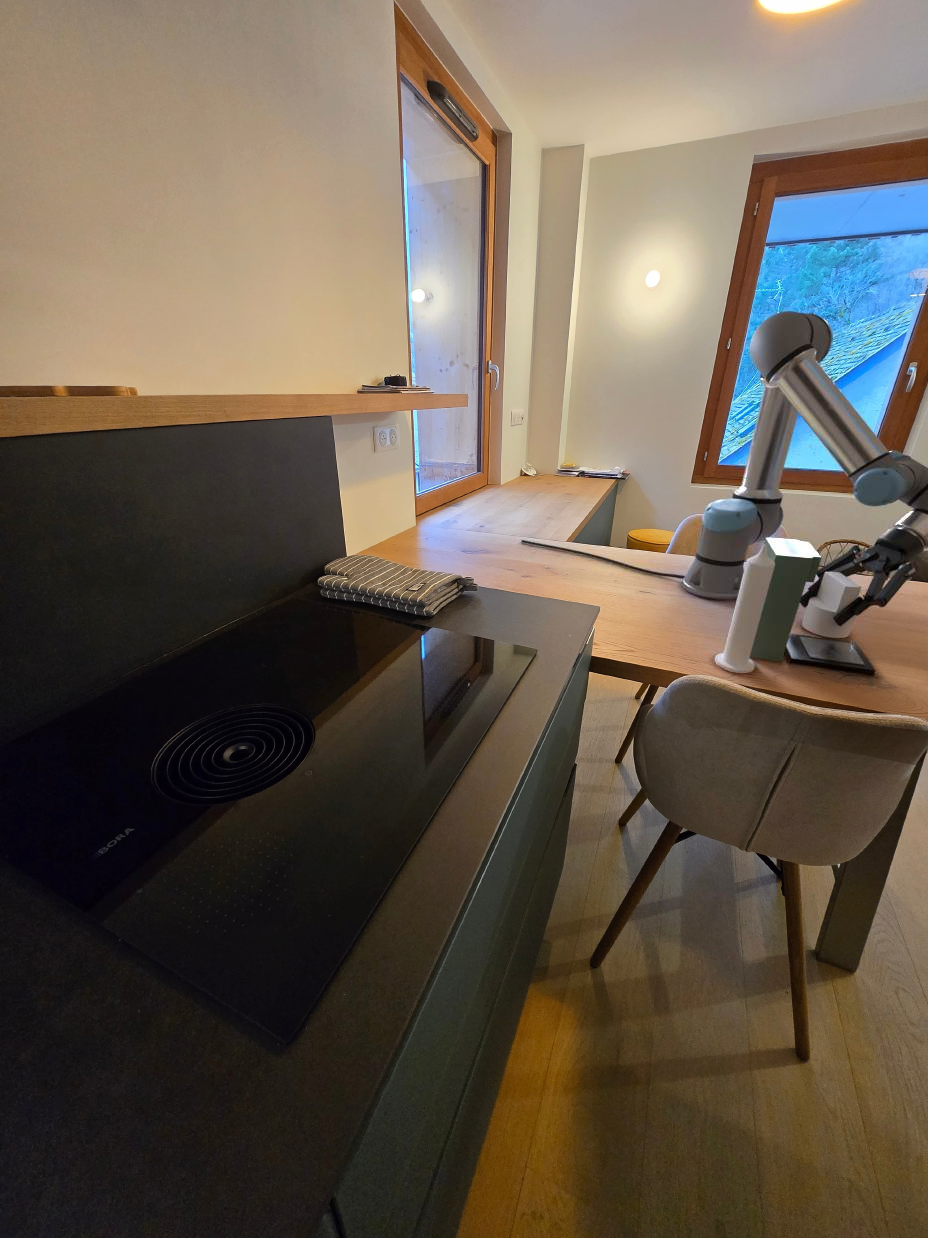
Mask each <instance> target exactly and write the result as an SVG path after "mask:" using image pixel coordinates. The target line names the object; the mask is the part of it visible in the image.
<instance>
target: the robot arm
mask: <svg viewBox="0 0 928 1238" xmlns="http://www.w3.org/2000/svg"><path fill="white" fill-rule="evenodd" d="M833 333H834V332H833V329H832V326H831V325H830V323H829V322H828V321H827V320H826V319H825V318H823V317H822V316H820V315H818V314H815V313H807V312H798V311H794V310H785V311H779V312H777V313H774V314H772V315H771V316H769V317H767V318H766V319H765V320H763V321H762V322H761V323H760V325H759V326H758V327H757V328H756V329H755V331H754V333H753V334H752V337H751V340H750V342H749V356H750V359H751V362H752V364H753V365H754V367H755V368H756V369H757V371H758V372H759V373H760V375H759V378H758V379H759V381H760V382H761V384H762V385H763V387H764V388H763V391H762V396H761V400H760V404H759V409H758V413H757V417H756V422H755V426H754V429H753V433H752V439H751V443H750V447H749V452H748V455H747V460H746V463H745V468H744V473H743V477H742V481H741V485H740V486H739V487H737V488H736V489H734V490H733V492H732V497H731V498H725V499H723V498H721V499H717V500H714V501H712V502H710V503H709V504H707V505H706V507H705V509H704V513H703V515H702V519H701V527H700V532H699V537H698V542H697V547H696V553H695V558H694V560H693V561H692V564H691V565H690V567H689V569H688V570H687V572H686V574H685V575H683V574H674V573H668V572H667V573H665V572H660V571H653V570H651V569H646V568H642V567H638V566H634V565H631V564H627V563H624V562H622V561H617V560H615V559H611V558H608V557H604V556H601V555H597V554H593V553H589V552H585V551H580V550H575V549H571V548H568V547H567V548H566V547H562V546H556V545H551V544H546V543H541V542H540V543H539V542H535V541H530V540H525V539H521V542H520V543H522V544H528V545H531V546H538V547H542V548H548V549H554V550H557V551H564V552H568V553H572V554H577V555H582V556H585V557H590V558H593V559H599V560H602V561H605V562H608V563H612V564H614V565H619V566H621V567H624V568H627V569H630V570H633V571H637V572H642V573H645V574H649V575H654V576H658V577H664V578H665V577H666V578H675V579H681V580H682V579H683V582H682V588H683V589H684V590H685V591H686V592H688V593H690V594H692V595H695V596H697V597H701V598H704V599H710V600H717V601H733V600H737V598H738V594H739V590H740V586H741V582H742V578H743V574H744V570H745V566H744V565H745V562H746V561H745V560H746V557H747V552H748V549H749V546H751V545H754V544H756V543H760V542H763V541H765V538H771V536H773V535H774V534H775V533H776V532H778V531H779V528H780V527H781V525H782V523H783V520H784V509H783V507H782V501H783V497H784V494H783V493H782V492H781V491H780V489H779V487H780V484H781V479H782V476H783V472H784V468H785V465H786V460H787V458H788V453H789V450H790V447H791V446H790V445H791V442H792V439H793V436H794V435H793V434H794V432H795V427H796V424H797V420H798V416H799V415H800V416H801V418H802V419H803V420H804V422H805V423H806V424H807V426H808V427H809V428H810V430H811V431H812V432H813V434H814V435H815V436H816V438H818V440H819V441H820V443H821V444H822V445H823V446H824V448H825V449H826V451H828V453H829V454H830V456H831V457H832V458H833V459H834V461H835V462H836V463H837V464H838V466H839V467H840V468H841V470H842V471H843V472H844V474H845V475H846V477H847V478H848V479H849V480H850V481H851V483H852V484H853V495H854V497H855V499H856V500H857V502H859V503H860V504H862V505H863V506H868V507H881V506H887V505H889V504H893V503H895V502H896V501H900V502H902V503H903V504H904V505H906V506H908V507H910V508H912V509H911V510H910V511H909V512H908V513H906V514H905V515H904V516H903V517H901V519H900V520H898V521H897V522H896V523H895V524H893V525H892V528H889V529H887V530H886V531H885V532H884V533H883V534H882V535H881V536H879V537H878V538H877V539H876V541H875V543H874V544H873V545H872V546H870V547H868V548H866V549H865V548H862V547H861V548H860V546H859V545H858V544H855V545H853V546H851V548H850V549H848V551H847V552H845V553H843V554H842V555H840V556H839V557H836V558H835V559H834V560H832V561H830V562H829V563H827V564H826V565H824V566H823V567H820V568H818V571H817V574H816V577H817V578H818V579H817V580H816V581H814V583H812V584H811V585H810V586H809V587H808V588H807V591H806V592H805V593H803V594H802V597H801V600H800V603H799V604H800V605H801V606H802V607H803V608H805V609H807V606H808V603H809V600H810V599H811V598H812V597H817V594H818V591H819V588H820V585H821V582H822V579H823V576H824V573H825V572H840V573H841V574H843V575H844V576H846V577H847V578H849V577H851V576H853V575H855V574H858V573H859V574H860V573H865V572H868V573H873V577H872V579H871V581H870V583H869V585H868V588H867V590H866V592H865V594H862V596H858V597H857V598H856V599H855V600H854V601H853V602H851V603H850V604H849V605H848V606H847V607H845V608H844V609H843V610H842V611H840V612H839V613H838V614H837V615H836V616H834V617H833V619H834V620H835V622H836V623H837V625H839V626H840V627H841V626H842V625H843V624H844V623H846V622H847V621H848V620H849V619H851V618H852V617H853V616H854V615H856V617H857V616H860V615H861V614H863V613H864V612H865V611H866V610H867V609H869V608H870V607H873V606H876V607H877V606H878V607H879V608H885V607H886V606H887V605H888V603H889V602H890V601H891V600H892V599H893V598H894V596H895V595H896V594H897V593H898V592H899V590H900V589H901V588H902V587H903V585H904V584H905V583H906V582H907V581H908V580H909V579H910V578H912V577H913V576H915V575H917V570H916V569H915V567H914V565H913V564H912V563H911V562H913V561H914V560H915V559H916V558H917V557H919V556H920V555H921V554H922V553H924V550H925V549H928V467H927V466H926V465H924V464H922V463H921V462H918V461H917V460H915V459H913V458H912V457H911V456H910V455H909V454H908V455H907V454H904V453H902V452H901V451H899V450H890V451H889V450H888V448H887V447H886V446H885V445H884V443H883V442H882V440H880V438H879V437H878V436H877V435H876V433H875V432H874V431H873V430H872V429H871V427H870V426H869V425H868V424H867V422H866V421H865V420H864V418H863V417H862V416H861V414H859V412H858V411H857V410H856V408H855V407H854V406H853V405H852V404H851V402H850V401H849V400H848V399H847V397H846V396H845V394H844V393H842V390H841V389H840V388H839V387H838V386H837V385H836V383H835V382H834V381H833V379H832V378H831V377H830V376H829V375H828V373H827V372H826V371H825V370H824V368H823V367H822V366H821V365H820V364H821V363H822V362H823V361H824V359H825V358H826V357H827V356H828V355H829V353H830V351H831V348H832V347H833V346H832V345H833V342H834V334H833ZM895 571H896V572H895ZM893 572H895V573H894V574H893V575H892V577H891V578H890V579H889V577H890V575H891V573H893ZM886 581H887V583H886Z"/></svg>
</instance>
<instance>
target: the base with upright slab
mask: <svg viewBox="0 0 928 1238" xmlns="http://www.w3.org/2000/svg"><path fill="white" fill-rule="evenodd" d="M861 589H862V586H861V585H859V583H856V582H855V581H853V580H852V579H851V578H849V577H846V576H844V575H843V574H841V573H840V572H825V573H824V576H823V579H822V582H821V585H820V588H819V591H818V594H817V597H812V598H811V599H810V600H809V603H808V606H807V607H806V608H805V612H804V615H803V618H802V622H801V626H802V628H804V629H805V630H807V631H809V632H810V633H812V634H815V635H818V636H821V637H824V638H831V639H842V638H843V639H844V638H847V637H849V636H850V633H851V631H852V629H853V625H854V623H855V620H856V618H857V616H856V615H854V616H853V617H852V618H851V619H849V620H848V621H847V622H846V623H844V624H843V625H842V626H841V627H840V626H839V625H837V623H836V622H835V620H834V619H833V617H834V616H836V615H837V614H838V613H839V612H840V611H842V610H843V609H844V608H845V607H847V606H848V605H849V604H850V603H851V602H853V601H854V600H855V599H856V598H858V597H859V596H860V595H859V594H860V592H861Z"/></svg>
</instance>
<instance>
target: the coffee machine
mask: <svg viewBox="0 0 928 1238" xmlns="http://www.w3.org/2000/svg"><path fill="white" fill-rule="evenodd" d="M763 541H764V542H763V545H764V544H767V554H768V557H769V558H770V559H771V560H772V561H774V563H775V566H774V570H773V574H772V577H771V581H770V585H769V588H768V592H767V595H766V599H765V603H764V606H763V610H762V613H761V617H760V621H759V624H758V628H757V632H756V635H755V639H754V642H753V646H752V650H751V653H750V657H749V658H750V659H751V658H752V659H759V660H765V661H772V662H778V663H779V662H780V663H781V662H782V661H783V658H784V655H786V657H787V660H788V662H789V664H791V665H793V664H794V665H800V666H805V667H813V668H819V669H827V670H833V671H840V672H848V673H854V674H855V673H856V674H860V675H867V676H868V675H869V676H875V673H876V672H877V670H876V669H875V667H874V666H873V664H872V663H871V662H870V660H869V659H868V657H867V655H866V654H865V653H864V652H863V650H862V649H861V647H860V646H859V644H858V643H857V642H856V641H852V640H842V639H837V638H829V637H822V636H821V637H820V636H811V635H805V634H796V633H792V628H793V626H794V622H795V618H796V616H797V613H798V609H799V606H800V604H801V603H800V600H801V597H802V596H803V595H804V590H805V587H806V585H807V583H811V584H814V583H815V580H816V577H817V575H816V574H817V571H818V570H819V569H820V564H821V561H822V557H823V556H821V554H820V553H818V551H817V550H816V549H815V548H814V547H813V545H812V544H811V543H810V542H809V541H801V540H799V539H791V538H780V537H779V538H777V537H768V538H765V540H763Z"/></svg>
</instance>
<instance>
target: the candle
mask: <svg viewBox="0 0 928 1238" xmlns="http://www.w3.org/2000/svg"><path fill="white" fill-rule="evenodd" d="M746 559H747V560H746V561H745V566H744V574H743V578H742V582H741V586H740V590H739V594H738V598H737V599H736V602H735V606H734V610H733V613H732V614H733V615H732V618H731V622H730V626H729V631H728V635H727V639H726V642H725V647H724V650H723V652H720V653H718V654H716V655H715V657H714V663H715V664H716V665H717V666H718V667H719V668H720V669H723V670H725V671H728V672H731V673H735V674H749V673H752V672H753V671H754V670H755V668H756V665H755V662H754V661H753V660H752V659H751V657H750V653H751V650H752V646H753V642H754V639H755V635H756V632H757V628H758V624H759V621H760V617H761V613H762V610H763V606H764V603H765V599H766V595H767V592H768V588H769V585H770V581H771V577H772V574H773V570H774V566H775V563H774V561H772V560H771V559H770V558H769V557H768V554H767V544H764V543H763V544H762V546H761V549H760V550H759V552H758V553H757V554H756V555H753V556H751V557H749V558H746Z"/></svg>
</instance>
